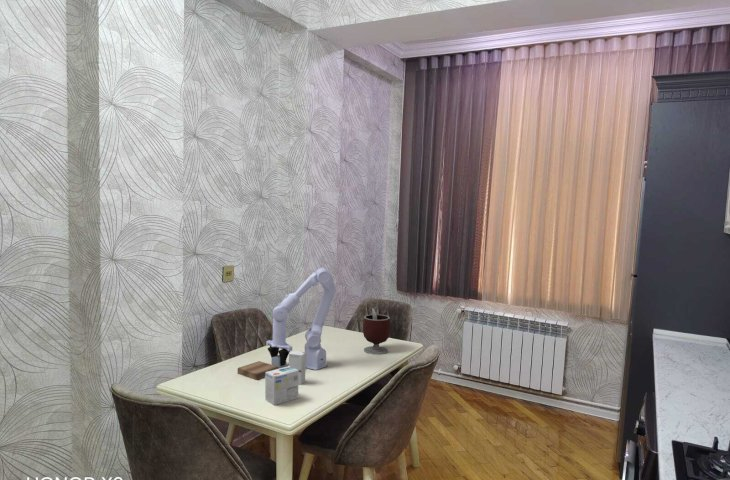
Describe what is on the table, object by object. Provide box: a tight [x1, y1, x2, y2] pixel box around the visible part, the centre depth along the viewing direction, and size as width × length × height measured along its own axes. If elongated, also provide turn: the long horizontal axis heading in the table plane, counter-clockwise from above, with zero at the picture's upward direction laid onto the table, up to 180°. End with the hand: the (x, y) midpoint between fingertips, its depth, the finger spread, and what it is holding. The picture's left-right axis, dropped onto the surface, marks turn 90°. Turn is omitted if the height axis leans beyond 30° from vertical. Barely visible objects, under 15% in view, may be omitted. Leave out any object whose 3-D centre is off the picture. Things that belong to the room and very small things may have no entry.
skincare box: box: [288, 350, 307, 385], centre depth 193 cm, size 6×4×12 cm
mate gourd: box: [362, 307, 391, 356], centre depth 239 cm, size 16×14×20 cm
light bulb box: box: [264, 365, 299, 406], centre depth 175 cm, size 11×7×11 cm, turn 133°
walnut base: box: [237, 360, 278, 381], centre depth 202 cm, size 12×12×3 cm
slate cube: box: [271, 354, 287, 369], centre depth 211 cm, size 4×4×4 cm
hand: (278, 364), depth 211 cm, fingers closed on slate cube, 4 cm apart
